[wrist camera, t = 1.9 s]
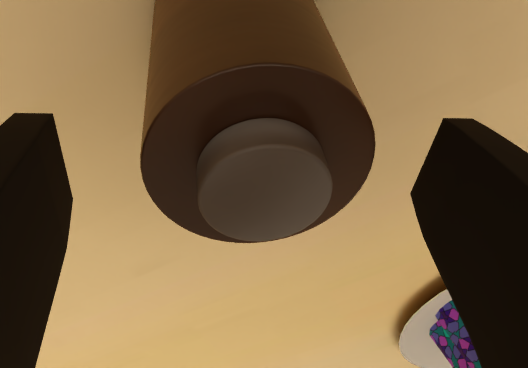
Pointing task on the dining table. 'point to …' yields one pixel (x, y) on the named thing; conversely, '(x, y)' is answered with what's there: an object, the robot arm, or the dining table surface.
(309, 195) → the salt shaker
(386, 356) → the dining table surface
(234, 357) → the dining table surface
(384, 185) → the dining table surface
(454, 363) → the pudding
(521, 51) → the dining table surface
